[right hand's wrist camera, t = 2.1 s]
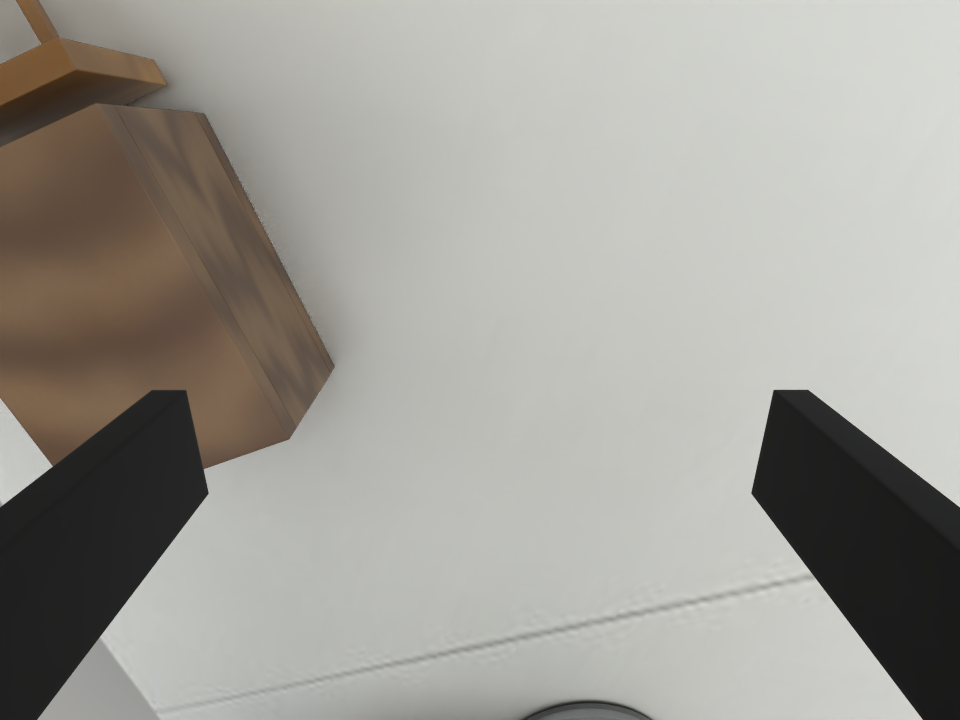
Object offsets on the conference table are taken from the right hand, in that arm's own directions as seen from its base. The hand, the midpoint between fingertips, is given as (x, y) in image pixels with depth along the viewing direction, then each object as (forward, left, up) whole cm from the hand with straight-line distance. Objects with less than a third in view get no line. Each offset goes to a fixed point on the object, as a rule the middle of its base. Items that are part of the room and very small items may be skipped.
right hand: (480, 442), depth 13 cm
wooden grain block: (-9, +14, -20) cm, 26 cm away
